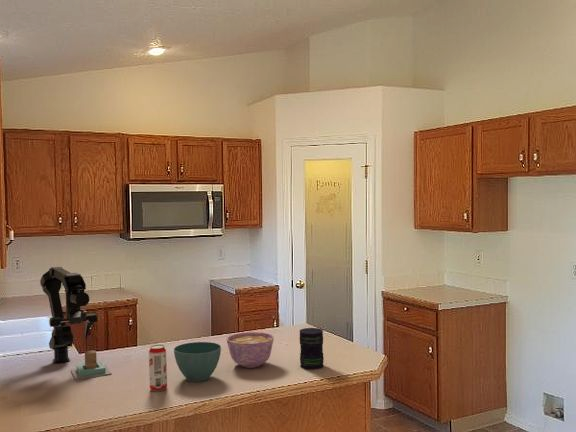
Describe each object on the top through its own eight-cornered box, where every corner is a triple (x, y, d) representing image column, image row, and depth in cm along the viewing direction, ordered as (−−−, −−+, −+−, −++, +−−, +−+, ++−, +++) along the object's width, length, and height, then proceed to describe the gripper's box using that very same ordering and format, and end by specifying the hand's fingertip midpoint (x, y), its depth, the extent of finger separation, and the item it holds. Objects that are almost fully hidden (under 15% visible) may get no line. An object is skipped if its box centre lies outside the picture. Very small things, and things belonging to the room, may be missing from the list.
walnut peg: (85, 370, 237) (84, 351, 237) (95, 369, 239) (94, 350, 239) (86, 373, 234) (85, 353, 234) (96, 371, 236) (96, 352, 235)
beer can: (150, 392, 210) (148, 349, 210) (149, 387, 216) (148, 345, 216) (167, 391, 212) (166, 347, 211) (166, 385, 218) (165, 343, 217)
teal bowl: (200, 368, 239) (199, 339, 239) (231, 376, 227) (230, 345, 227) (165, 380, 225) (164, 348, 225) (196, 389, 213) (195, 356, 213)
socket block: (70, 370, 240) (70, 364, 240) (105, 365, 246) (105, 359, 246) (75, 380, 227) (74, 373, 227) (111, 374, 234) (111, 368, 233)
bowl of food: (217, 368, 239) (217, 340, 238) (243, 356, 256) (242, 330, 256) (259, 374, 229) (258, 345, 229) (283, 361, 247) (282, 334, 247)
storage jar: (321, 370, 233) (321, 333, 233) (298, 369, 235) (297, 333, 235) (325, 363, 243) (324, 328, 242) (302, 362, 245) (301, 327, 244)
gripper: (50, 308, 231) (52, 347, 231) (99, 304, 239) (100, 341, 240) (48, 304, 241) (49, 341, 241) (95, 300, 249) (96, 335, 250)
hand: (74, 340), depth 243 cm, fingers open, 9 cm apart
